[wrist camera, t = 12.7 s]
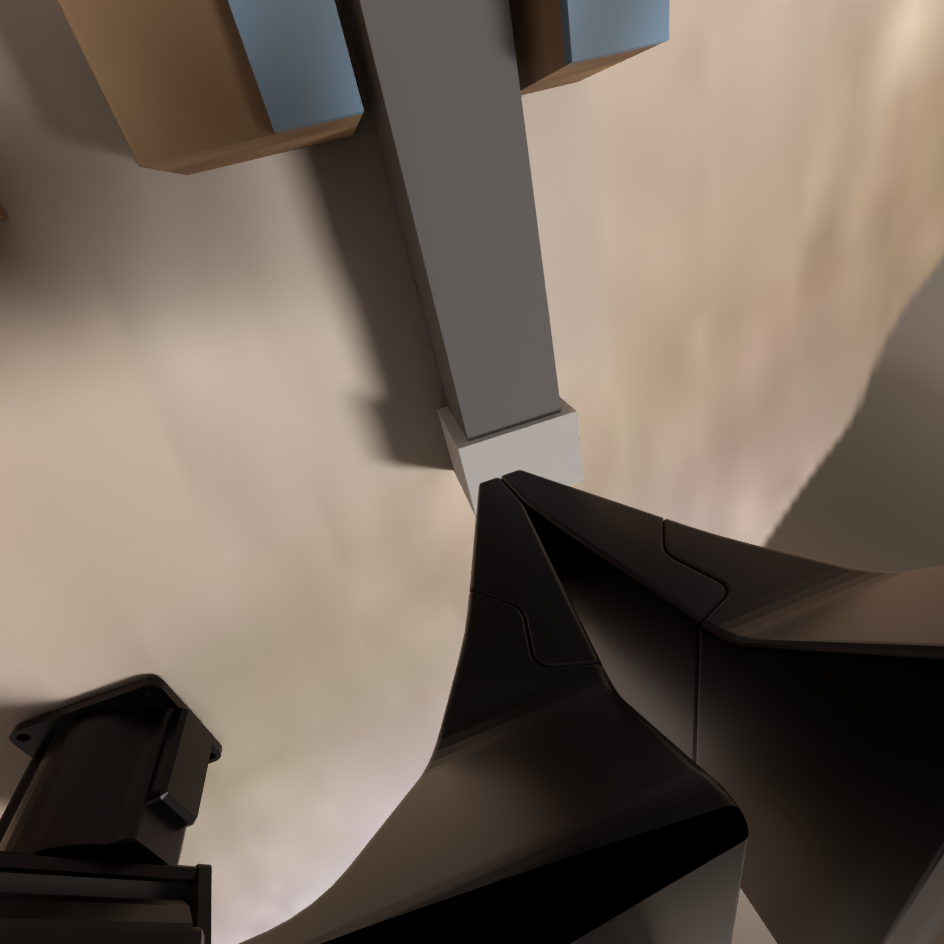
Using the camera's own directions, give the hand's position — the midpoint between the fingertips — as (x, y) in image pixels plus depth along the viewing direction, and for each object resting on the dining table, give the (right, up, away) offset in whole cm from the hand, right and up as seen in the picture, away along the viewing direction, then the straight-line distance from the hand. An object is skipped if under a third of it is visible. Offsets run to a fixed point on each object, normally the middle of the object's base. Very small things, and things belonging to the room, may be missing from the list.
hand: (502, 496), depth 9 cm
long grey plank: (-1, +10, +7) cm, 12 cm away
